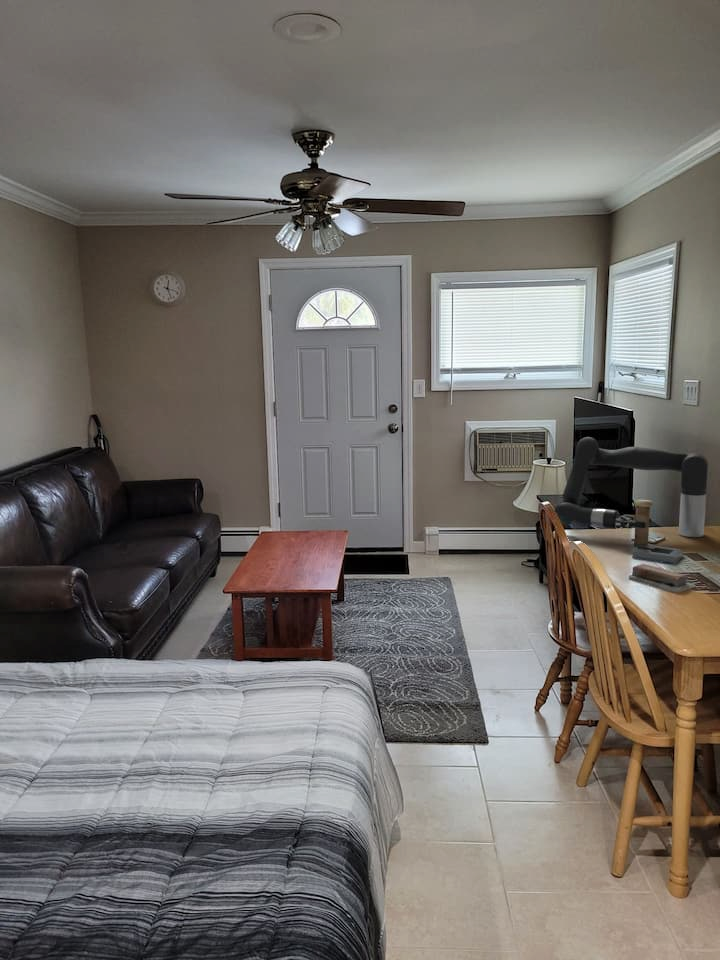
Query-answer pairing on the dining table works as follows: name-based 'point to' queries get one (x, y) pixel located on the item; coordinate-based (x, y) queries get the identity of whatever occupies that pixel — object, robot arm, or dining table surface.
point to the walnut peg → (642, 516)
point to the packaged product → (660, 578)
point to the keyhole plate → (657, 553)
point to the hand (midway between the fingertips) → (648, 523)
